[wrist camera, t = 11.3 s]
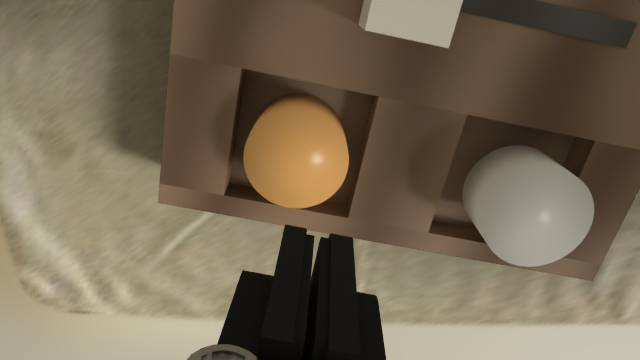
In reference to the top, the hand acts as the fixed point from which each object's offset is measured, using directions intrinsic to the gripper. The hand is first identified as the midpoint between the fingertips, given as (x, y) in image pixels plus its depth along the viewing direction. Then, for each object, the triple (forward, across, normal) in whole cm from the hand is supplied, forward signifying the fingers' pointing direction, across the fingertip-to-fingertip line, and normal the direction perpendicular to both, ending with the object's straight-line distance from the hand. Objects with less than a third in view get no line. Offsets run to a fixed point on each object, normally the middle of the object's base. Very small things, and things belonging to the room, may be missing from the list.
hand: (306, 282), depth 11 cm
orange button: (+12, +1, 0) cm, 12 cm away
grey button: (+10, -9, 0) cm, 14 cm away
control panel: (+14, -4, -4) cm, 15 cm away
